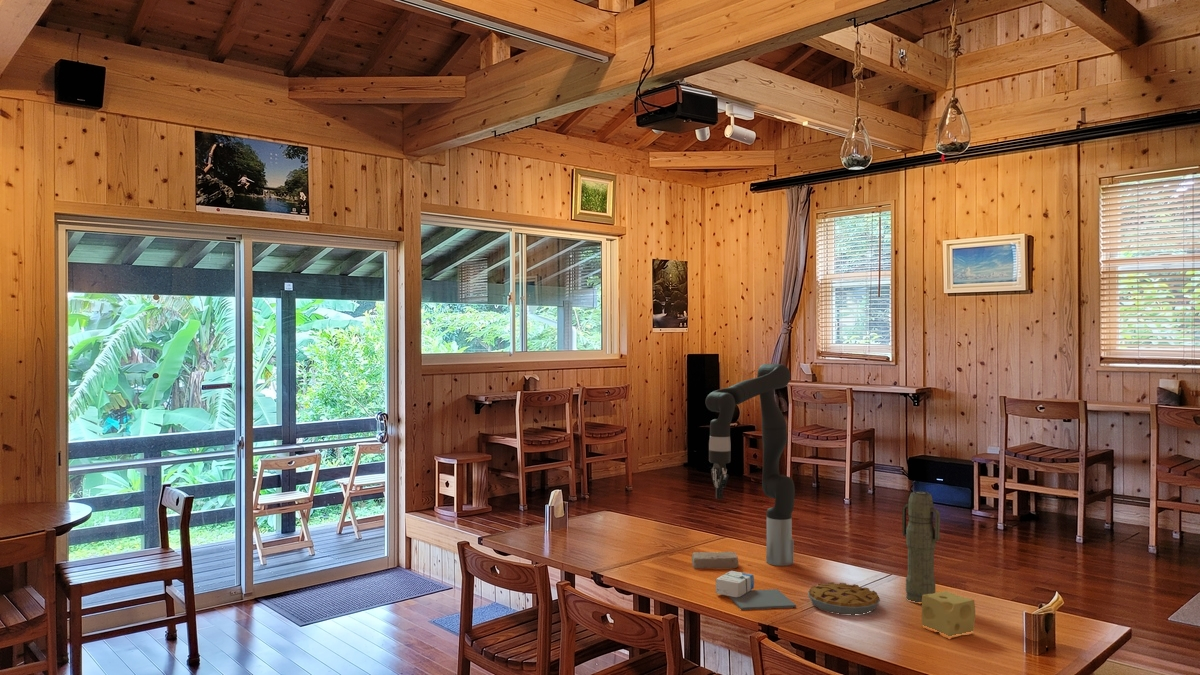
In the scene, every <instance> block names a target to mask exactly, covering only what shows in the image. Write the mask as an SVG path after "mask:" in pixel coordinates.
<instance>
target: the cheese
mask: <svg viewBox="0 0 1200 675" xmlns="http://www.w3.org/2000/svg"><path fill="white" fill-rule="evenodd" d="M975 623H976V604H975V599H972V598H969V597H964V596H961V595H958V594H955V593H953V592H950V591H947V590H942V591H937V592H935V593H933V594H925V595H922V605H921V625H924V626H927V627H929V628H932V629H935V630H937V631H939V632H941V633H944V634H946V635H948V636H952V635H956V634H962V633H966V632H971V631H973V632H974V627H975Z"/></svg>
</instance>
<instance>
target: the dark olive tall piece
mask: <svg viewBox="0 0 1200 675" xmlns="http://www.w3.org/2000/svg"><path fill="white" fill-rule="evenodd" d="M907 510H908V511H907ZM907 512H908V520H907ZM901 515H902V516H901V517H902V521H901V522H902V526H901V528H902V536H904V537H905V540H906V542H905V543H906V547H907V575H906V577H905V593H906V597H905V598H907V599H908V600H911V601H915V602H922V595H925V594H933V593H936V579H935V576H934V573H935V571H934V570H935V568H934V566H935V562H934V559H935V554H934V552H935V550H936V542H938V541H940V538H941V534H940V531H941V529H940V528H941V512H940V511H939V510H938V509H937V508H935V507H934V500H933V497H932V494H931V493H929V491H923V490H914V491H912V492H910V495H909V497H908V503H906V504H905V505H904V506H903V507H902V513H901ZM933 519H934V520H933ZM907 522H908V523H907ZM907 599H906V600H907ZM908 600H907V601H908Z"/></svg>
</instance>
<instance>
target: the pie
mask: <svg viewBox="0 0 1200 675" xmlns="http://www.w3.org/2000/svg"><path fill="white" fill-rule="evenodd" d="M807 595H808V598H810V600H811V603H812V605H813V606H815V607H816V608H817V607H818V609H819V610H822V611H826V612H827V611H828V612H827V613H831V612H833V613H832V614H836V613H839V614H838V615H841V614H851V615H855V614H863V613H867V612H869V611H872V610H873V609H874V608H875V609H876V607H877V605H878V604H879V603H880V602H881V599H880V596H879V595H878V593H877V592H876V591H875V590H870V588H868V587H861V586H860V585H858V584H855V583H854V584H847V583H844V582H839V583H835V582H828V583H818V584H817V585H812V586H811V587H810V588H809V590H808V591H807ZM875 609H874V610H875ZM874 610H873V611H874ZM873 611H872V612H873ZM867 614H868V613H867ZM851 615H850V616H851Z"/></svg>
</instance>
